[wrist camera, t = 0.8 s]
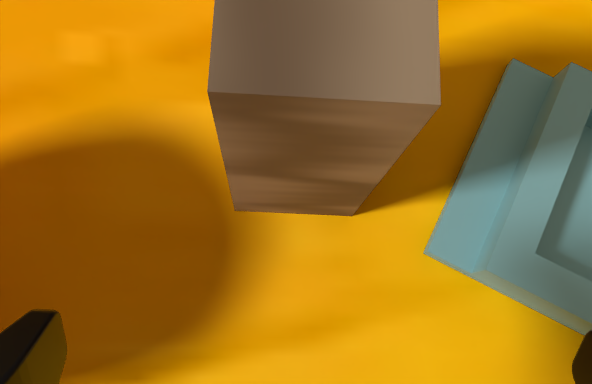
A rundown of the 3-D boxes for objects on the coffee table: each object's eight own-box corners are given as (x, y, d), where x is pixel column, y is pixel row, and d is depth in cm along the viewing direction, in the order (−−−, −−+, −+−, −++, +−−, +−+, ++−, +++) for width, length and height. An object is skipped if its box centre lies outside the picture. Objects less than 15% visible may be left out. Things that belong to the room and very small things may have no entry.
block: (352, 107, 25) (434, -91, 13) (351, 216, 23) (440, 104, 12) (242, 101, 24) (223, -107, 13) (234, 210, 23) (207, 91, 11)
